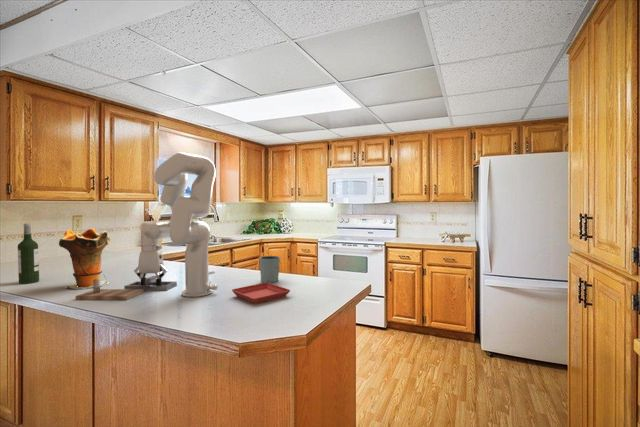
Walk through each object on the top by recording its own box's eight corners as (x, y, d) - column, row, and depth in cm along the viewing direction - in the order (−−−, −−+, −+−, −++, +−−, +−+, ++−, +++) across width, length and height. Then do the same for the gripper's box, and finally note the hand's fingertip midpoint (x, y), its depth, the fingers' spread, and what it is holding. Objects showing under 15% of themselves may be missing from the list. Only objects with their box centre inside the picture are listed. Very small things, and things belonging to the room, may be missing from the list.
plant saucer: (291, 297, 140) (291, 289, 140) (254, 306, 128) (253, 298, 127) (266, 289, 153) (266, 282, 153) (230, 297, 141) (230, 289, 141)
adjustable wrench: (190, 283, 167) (190, 280, 167) (178, 283, 168) (178, 279, 168) (216, 272, 191) (216, 269, 191) (206, 272, 193) (206, 269, 192)
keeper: (142, 292, 148) (142, 275, 148) (126, 299, 137) (126, 281, 137) (95, 292, 149) (94, 275, 149) (75, 299, 138) (75, 281, 138)
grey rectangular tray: (176, 285, 160) (176, 275, 160) (167, 290, 151) (166, 279, 151) (136, 285, 162) (136, 275, 161) (124, 290, 153) (124, 279, 152)
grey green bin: (258, 279, 172) (258, 256, 171) (278, 278, 175) (277, 255, 174) (261, 284, 162) (260, 259, 162) (281, 282, 165) (281, 258, 165)
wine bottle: (41, 281, 172) (39, 223, 171) (22, 284, 165) (19, 224, 164) (35, 279, 176) (33, 222, 175) (16, 283, 169) (14, 223, 168)
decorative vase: (76, 292, 148) (72, 229, 148) (52, 289, 160) (49, 230, 160) (123, 282, 166) (120, 226, 166) (99, 280, 178) (96, 227, 178)
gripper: (172, 247, 159) (173, 285, 160) (137, 247, 160) (138, 284, 161) (164, 249, 152) (165, 289, 152) (127, 249, 153) (128, 288, 153)
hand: (151, 286), depth 156 cm, fingers open, 6 cm apart
